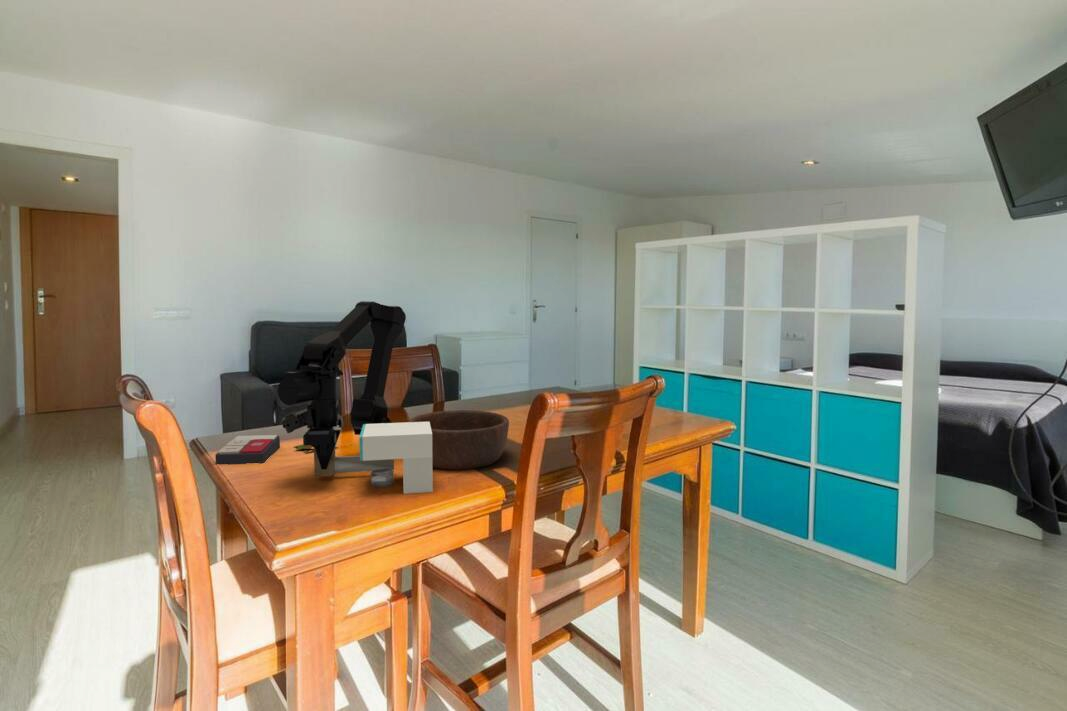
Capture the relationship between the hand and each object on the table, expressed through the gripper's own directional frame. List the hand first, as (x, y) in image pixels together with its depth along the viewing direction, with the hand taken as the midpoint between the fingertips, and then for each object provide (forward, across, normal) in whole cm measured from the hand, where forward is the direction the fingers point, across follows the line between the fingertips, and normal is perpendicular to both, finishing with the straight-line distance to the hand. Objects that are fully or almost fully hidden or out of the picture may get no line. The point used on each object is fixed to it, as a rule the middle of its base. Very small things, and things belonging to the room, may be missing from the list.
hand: (325, 466), depth 130 cm
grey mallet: (+2, 0, +6) cm, 7 cm away
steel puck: (+3, +6, +12) cm, 14 cm away
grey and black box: (+4, -23, -21) cm, 32 cm away
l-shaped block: (+3, +8, +16) cm, 18 cm away
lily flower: (+4, -28, -6) cm, 29 cm away
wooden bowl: (+3, -10, +31) cm, 33 cm away
